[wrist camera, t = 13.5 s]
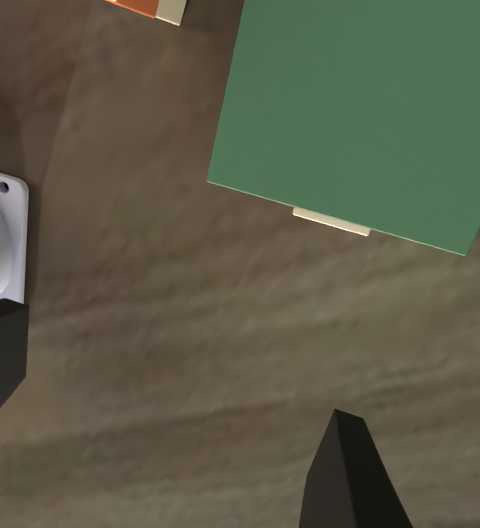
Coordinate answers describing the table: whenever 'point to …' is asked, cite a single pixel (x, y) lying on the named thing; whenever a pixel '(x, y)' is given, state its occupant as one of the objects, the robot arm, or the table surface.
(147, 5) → the juice carton
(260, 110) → the lunchbox
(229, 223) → the table surface
